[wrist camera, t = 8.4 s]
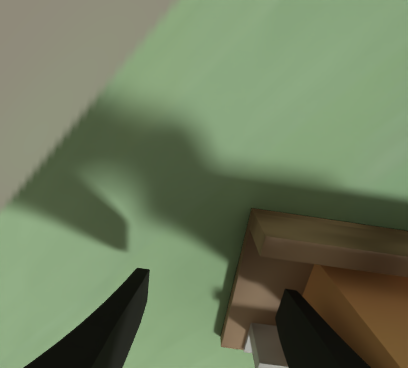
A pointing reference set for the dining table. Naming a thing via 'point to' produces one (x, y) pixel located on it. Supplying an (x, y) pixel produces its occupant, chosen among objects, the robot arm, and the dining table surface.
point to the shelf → (297, 271)
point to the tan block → (364, 311)
